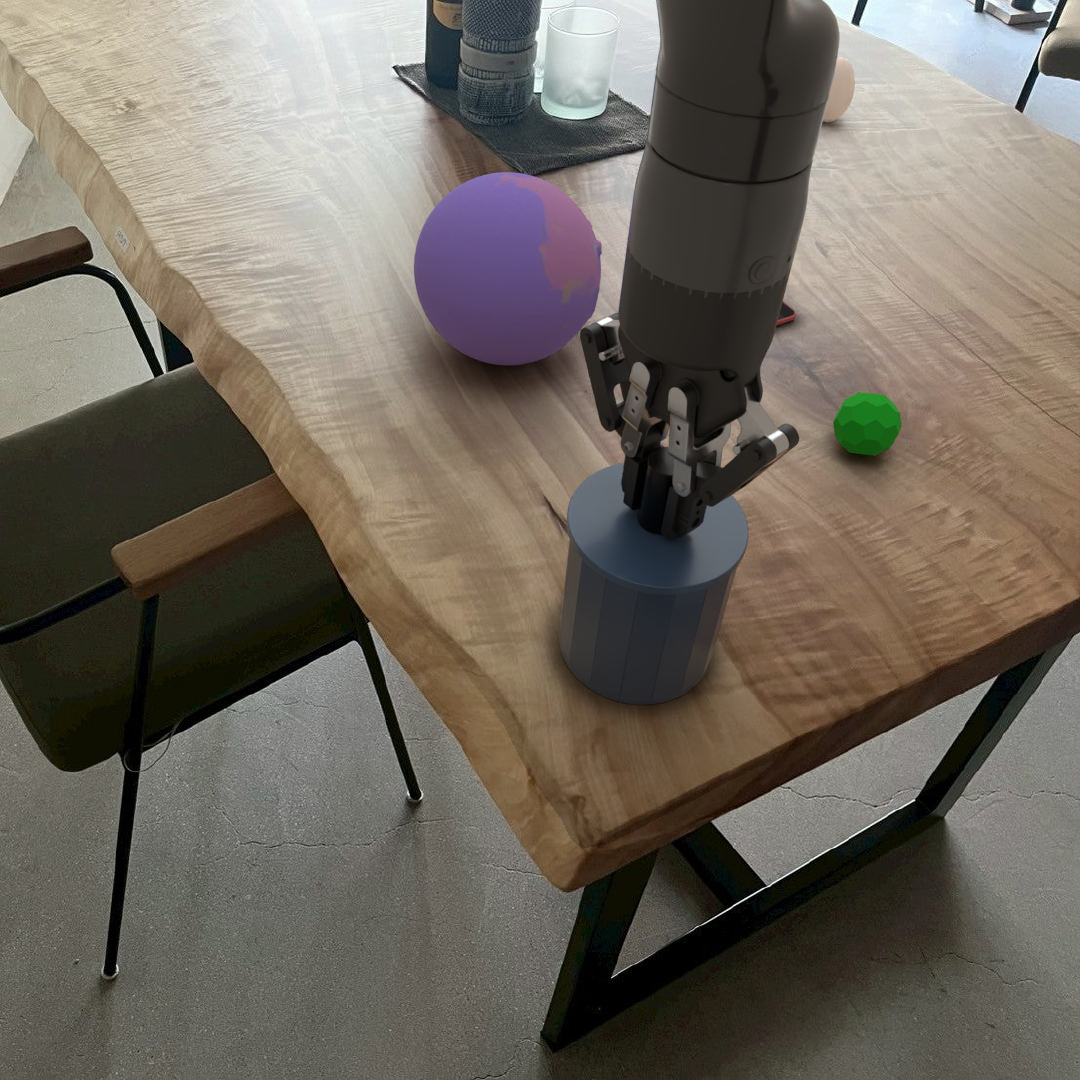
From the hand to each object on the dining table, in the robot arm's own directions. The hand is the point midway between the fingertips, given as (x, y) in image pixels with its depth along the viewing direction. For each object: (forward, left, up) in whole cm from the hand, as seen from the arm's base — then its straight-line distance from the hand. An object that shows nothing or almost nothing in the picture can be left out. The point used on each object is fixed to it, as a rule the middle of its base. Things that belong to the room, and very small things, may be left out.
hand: (658, 514), depth 59 cm
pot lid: (0, 0, -1) cm, 1 cm away
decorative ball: (+30, -14, -12) cm, 35 cm away
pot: (0, 0, -11) cm, 11 cm away
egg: (+43, -75, -12) cm, 87 cm away
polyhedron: (+3, -28, -12) cm, 30 cm away
